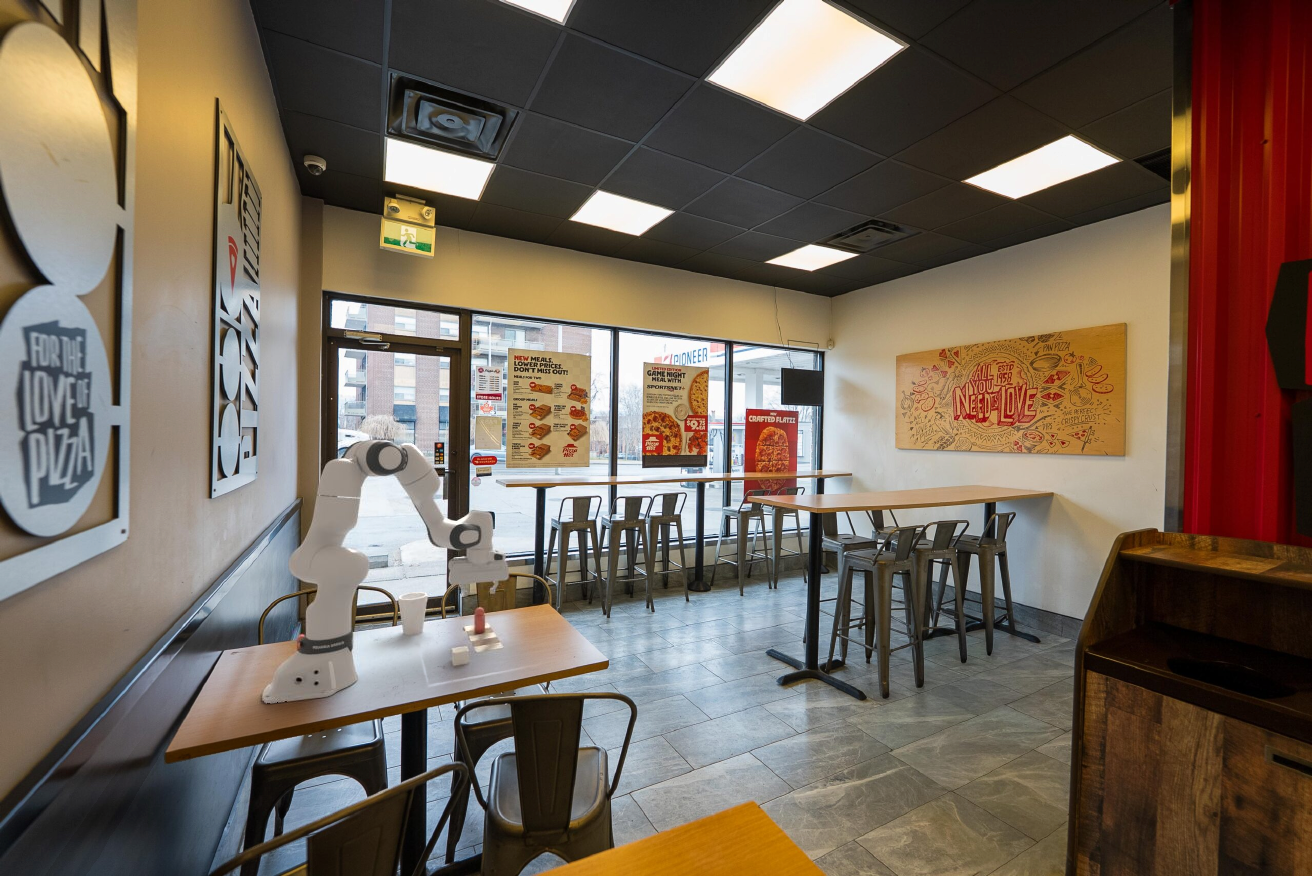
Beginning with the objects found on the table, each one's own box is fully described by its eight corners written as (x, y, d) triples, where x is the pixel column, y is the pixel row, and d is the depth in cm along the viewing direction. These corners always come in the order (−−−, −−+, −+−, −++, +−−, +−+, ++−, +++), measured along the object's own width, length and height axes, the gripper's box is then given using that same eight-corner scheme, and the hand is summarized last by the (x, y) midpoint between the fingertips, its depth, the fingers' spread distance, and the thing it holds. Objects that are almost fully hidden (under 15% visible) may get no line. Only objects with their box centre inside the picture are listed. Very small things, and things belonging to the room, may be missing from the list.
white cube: (453, 668, 166) (453, 653, 166) (451, 662, 170) (451, 648, 170) (468, 665, 168) (468, 650, 168) (466, 659, 172) (466, 645, 172)
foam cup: (418, 625, 204) (418, 590, 204) (432, 630, 198) (432, 594, 198) (393, 633, 196) (393, 596, 196) (407, 638, 190) (407, 601, 190)
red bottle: (475, 634, 193) (475, 609, 193) (473, 630, 196) (473, 606, 196) (485, 632, 195) (485, 608, 195) (484, 629, 198) (484, 605, 198)
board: (476, 654, 176) (476, 652, 176) (463, 628, 201) (463, 626, 201) (504, 649, 181) (504, 647, 181) (488, 624, 205) (488, 622, 205)
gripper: (449, 559, 188) (448, 600, 188) (510, 554, 197) (509, 593, 197) (447, 556, 194) (446, 595, 193) (506, 552, 203) (505, 589, 202)
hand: (478, 594), depth 195 cm, fingers open, 8 cm apart
